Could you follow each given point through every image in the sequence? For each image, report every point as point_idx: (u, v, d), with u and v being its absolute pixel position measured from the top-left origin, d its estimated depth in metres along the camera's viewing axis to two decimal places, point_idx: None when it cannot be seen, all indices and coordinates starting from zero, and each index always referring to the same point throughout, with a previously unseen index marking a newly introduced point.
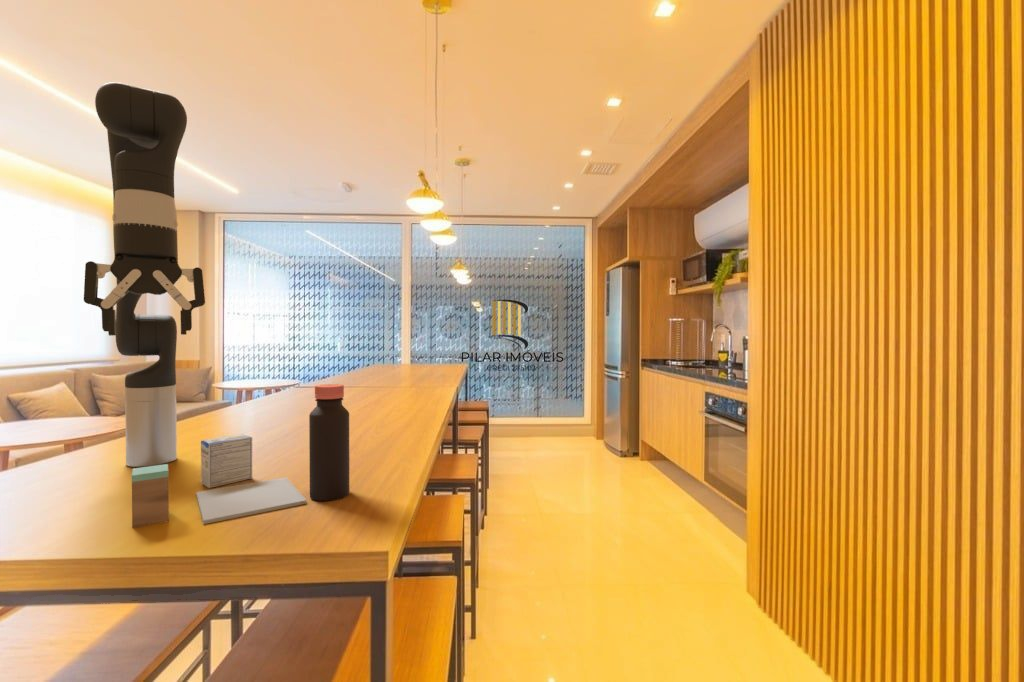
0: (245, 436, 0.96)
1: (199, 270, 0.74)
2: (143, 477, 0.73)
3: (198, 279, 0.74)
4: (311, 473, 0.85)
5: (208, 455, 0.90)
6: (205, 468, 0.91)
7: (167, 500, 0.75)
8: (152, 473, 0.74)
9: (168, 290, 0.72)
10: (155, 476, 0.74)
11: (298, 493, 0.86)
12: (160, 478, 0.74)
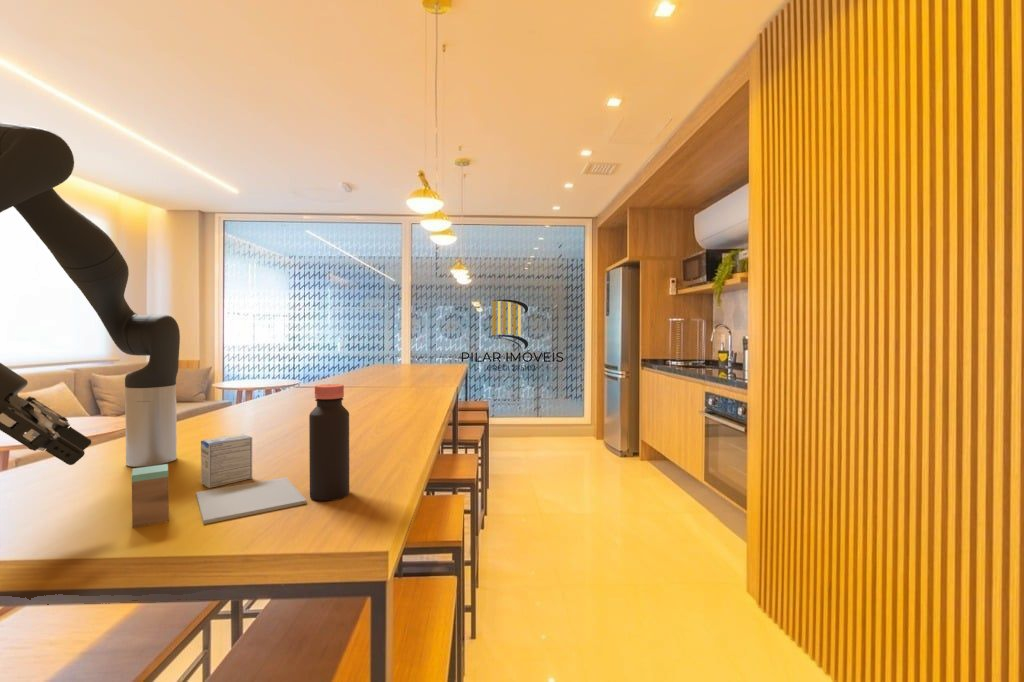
0: (245, 436, 0.96)
1: None
2: (143, 477, 0.73)
3: None
4: (311, 473, 0.85)
5: (209, 455, 0.90)
6: (205, 468, 0.91)
7: (167, 500, 0.75)
8: (152, 473, 0.74)
9: None
10: (155, 476, 0.74)
11: (298, 493, 0.86)
12: (160, 478, 0.74)
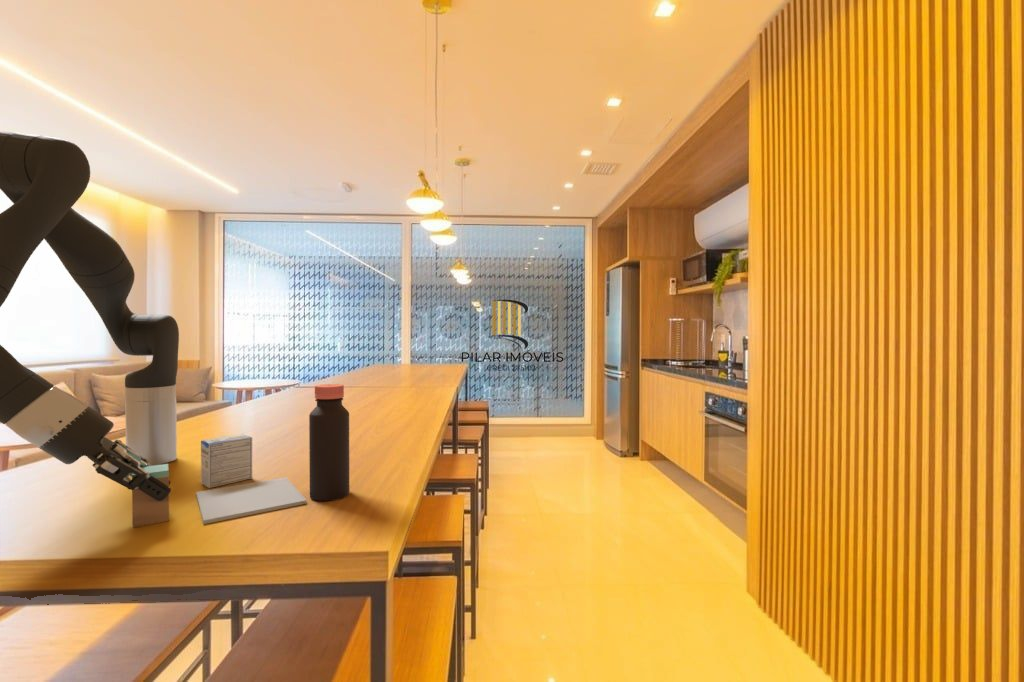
0: (245, 436, 0.96)
1: (98, 472, 0.67)
2: None
3: None
4: (311, 473, 0.85)
5: (209, 455, 0.90)
6: (205, 468, 0.91)
7: (167, 500, 0.75)
8: (152, 473, 0.74)
9: None
10: (155, 476, 0.74)
11: (298, 493, 0.86)
12: (160, 478, 0.74)
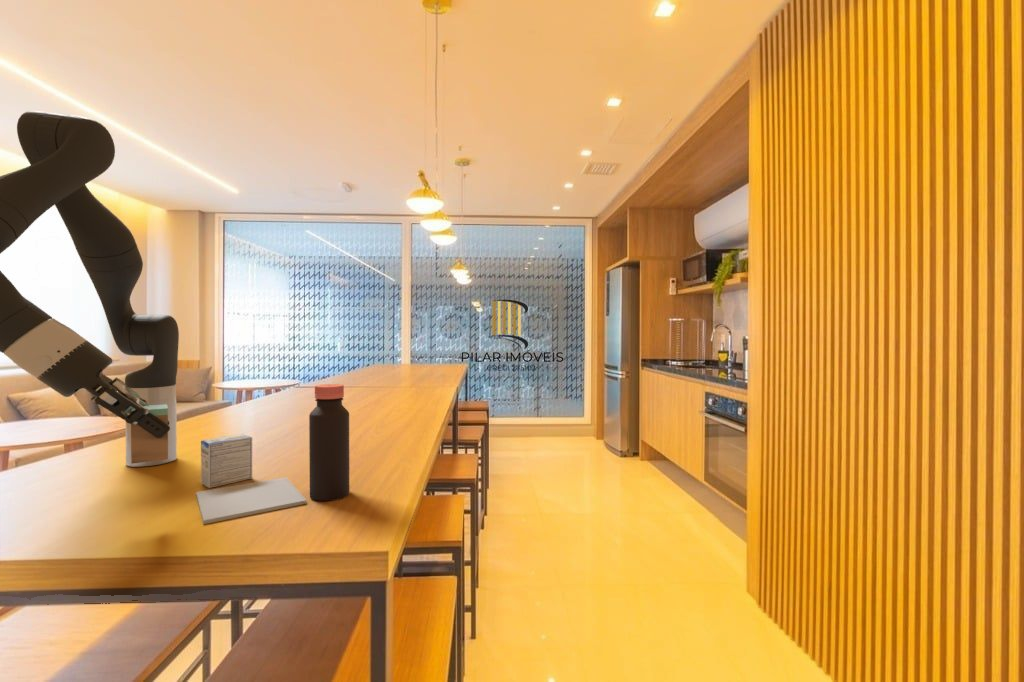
0: (245, 436, 0.96)
1: (96, 403, 0.67)
2: None
3: (106, 407, 0.68)
4: (311, 473, 0.85)
5: (209, 455, 0.90)
6: (205, 468, 0.91)
7: (166, 438, 0.75)
8: (151, 410, 0.74)
9: None
10: (154, 413, 0.74)
11: (298, 493, 0.86)
12: (159, 415, 0.74)
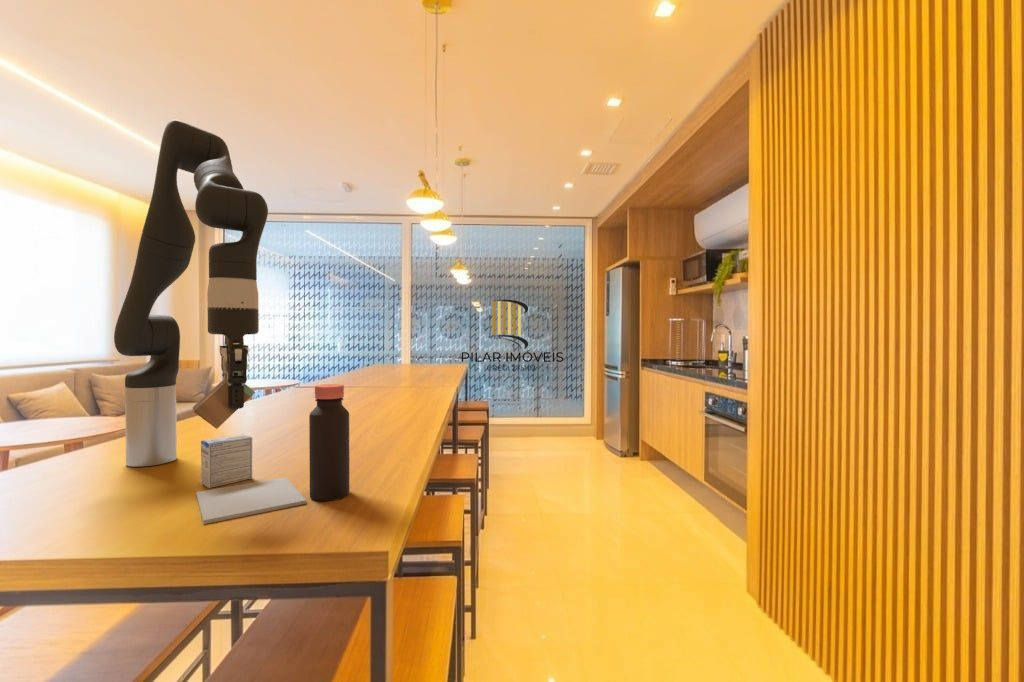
0: (245, 436, 0.96)
1: (229, 352, 0.76)
2: None
3: (229, 359, 0.76)
4: (311, 473, 0.85)
5: (209, 455, 0.90)
6: (205, 468, 0.91)
7: (232, 413, 0.80)
8: (245, 385, 0.81)
9: (223, 365, 0.79)
10: (244, 389, 0.81)
11: (298, 493, 0.86)
12: (245, 393, 0.81)
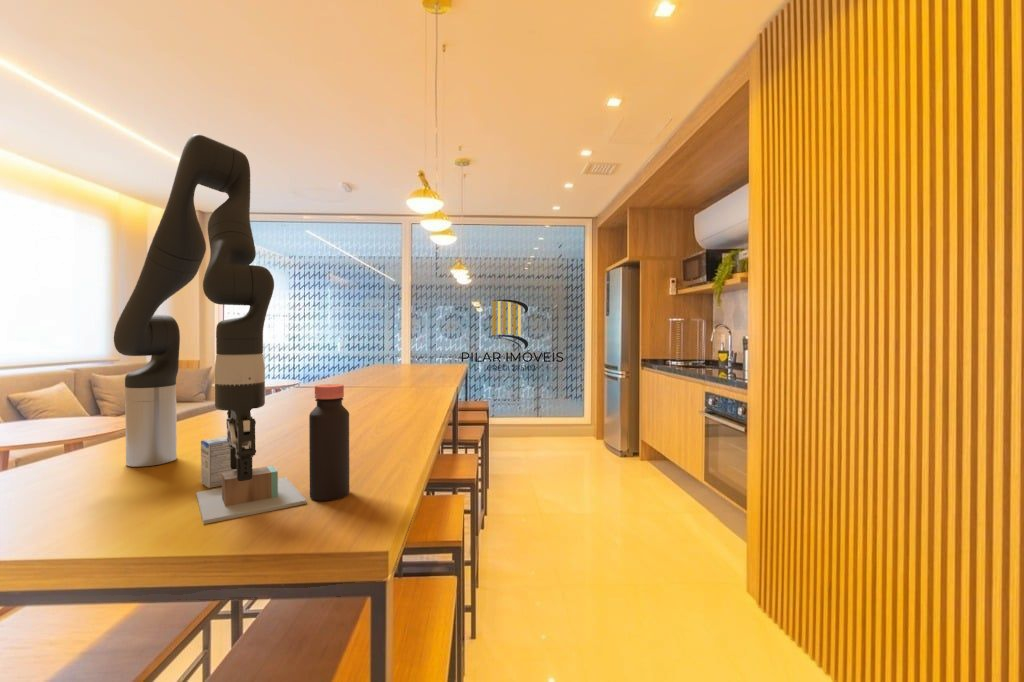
0: None
1: (237, 423, 0.77)
2: (274, 479, 0.84)
3: (237, 431, 0.77)
4: (311, 473, 0.85)
5: (209, 455, 0.90)
6: (205, 468, 0.91)
7: (247, 501, 0.82)
8: (276, 485, 0.84)
9: (231, 439, 0.80)
10: (273, 488, 0.84)
11: (298, 493, 0.86)
12: (271, 492, 0.84)
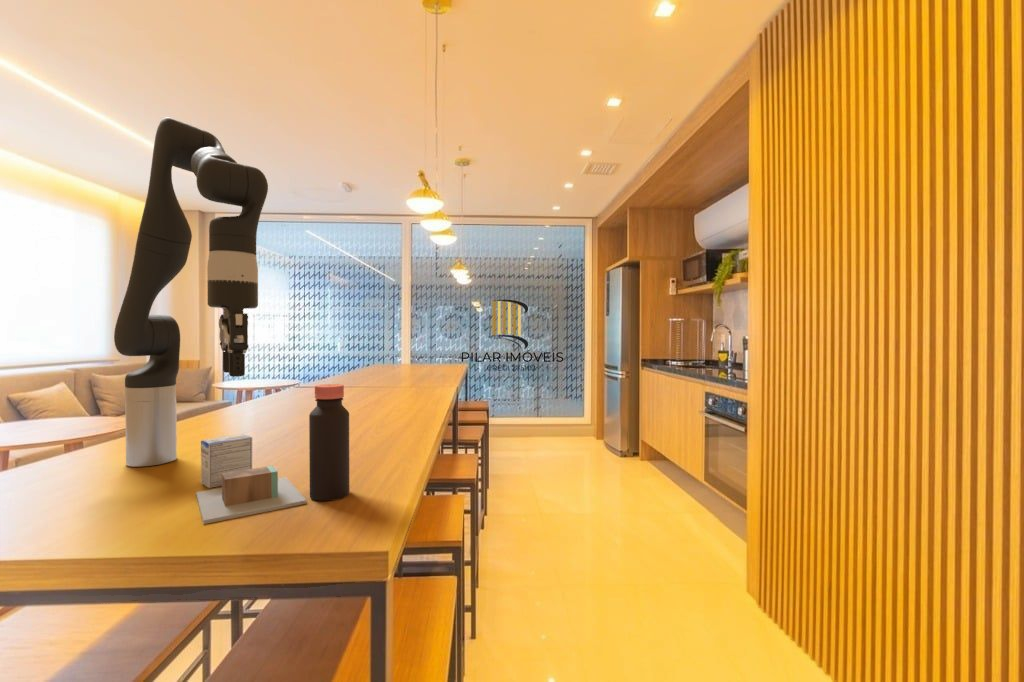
0: (245, 436, 0.96)
1: (229, 316, 0.77)
2: (274, 479, 0.84)
3: (230, 324, 0.77)
4: (311, 473, 0.85)
5: (209, 455, 0.90)
6: (205, 468, 0.91)
7: (247, 501, 0.82)
8: (276, 485, 0.84)
9: (223, 335, 0.80)
10: (273, 488, 0.84)
11: (298, 493, 0.86)
12: (271, 492, 0.84)
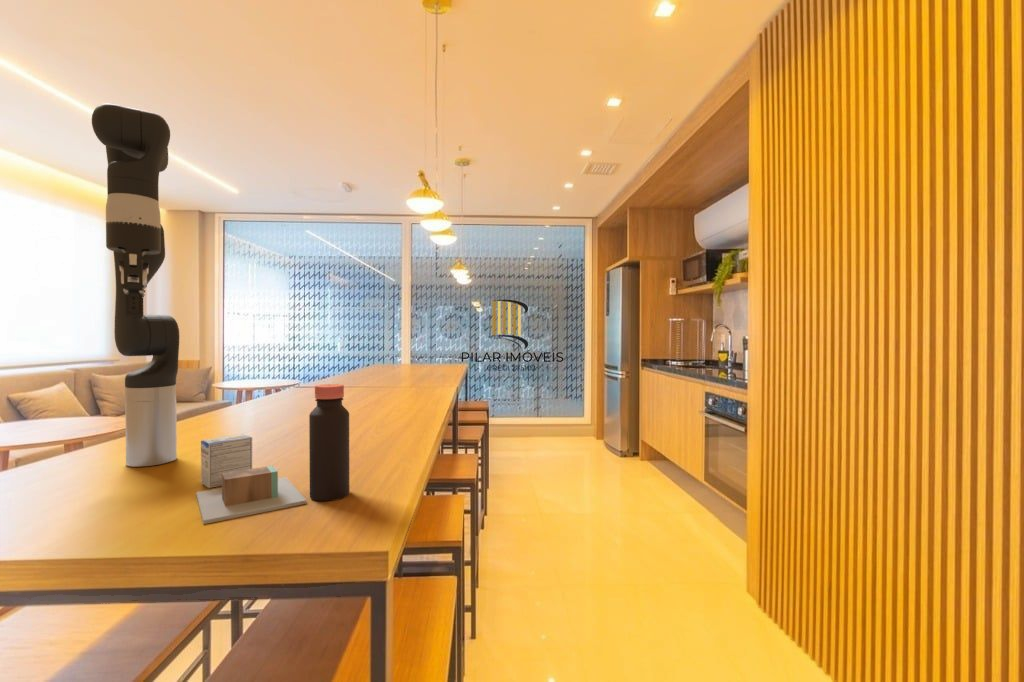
0: (245, 436, 0.96)
1: (123, 255, 0.78)
2: (274, 479, 0.84)
3: (123, 264, 0.78)
4: (311, 473, 0.85)
5: (209, 455, 0.90)
6: (205, 468, 0.91)
7: (247, 501, 0.82)
8: (276, 485, 0.84)
9: None
10: (273, 488, 0.84)
11: (298, 493, 0.86)
12: (271, 492, 0.84)
